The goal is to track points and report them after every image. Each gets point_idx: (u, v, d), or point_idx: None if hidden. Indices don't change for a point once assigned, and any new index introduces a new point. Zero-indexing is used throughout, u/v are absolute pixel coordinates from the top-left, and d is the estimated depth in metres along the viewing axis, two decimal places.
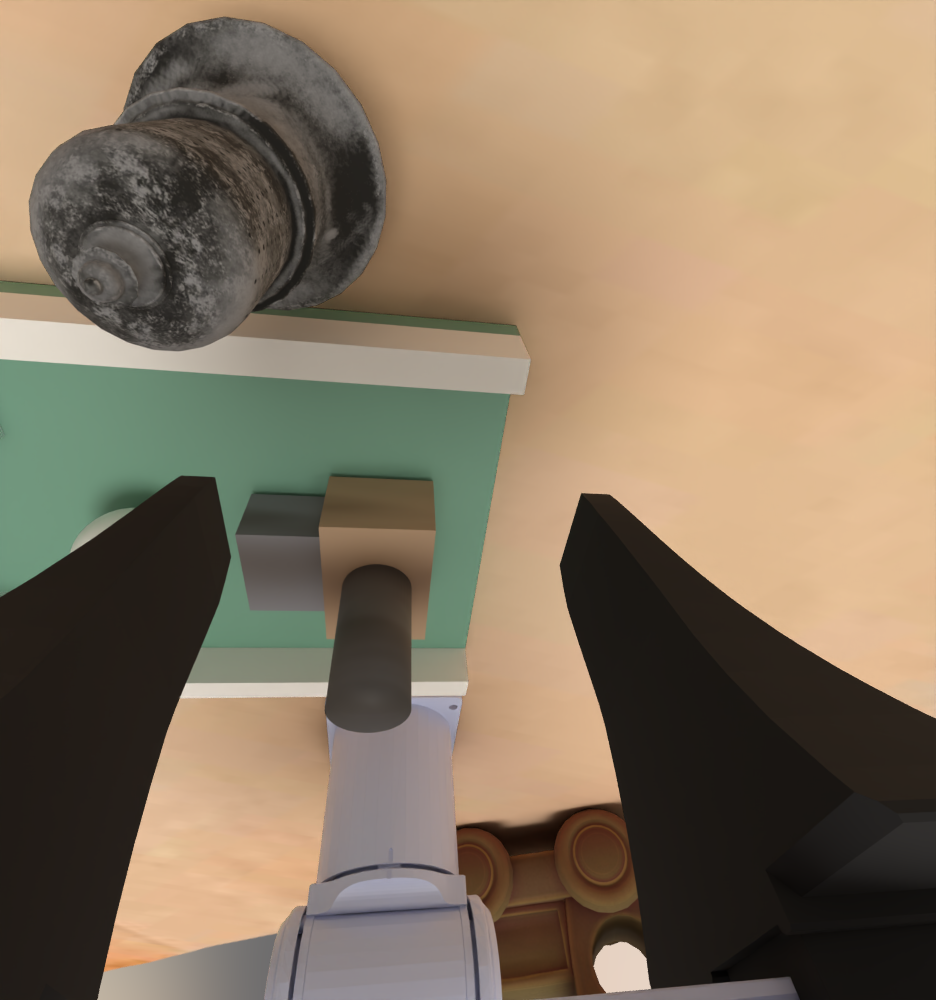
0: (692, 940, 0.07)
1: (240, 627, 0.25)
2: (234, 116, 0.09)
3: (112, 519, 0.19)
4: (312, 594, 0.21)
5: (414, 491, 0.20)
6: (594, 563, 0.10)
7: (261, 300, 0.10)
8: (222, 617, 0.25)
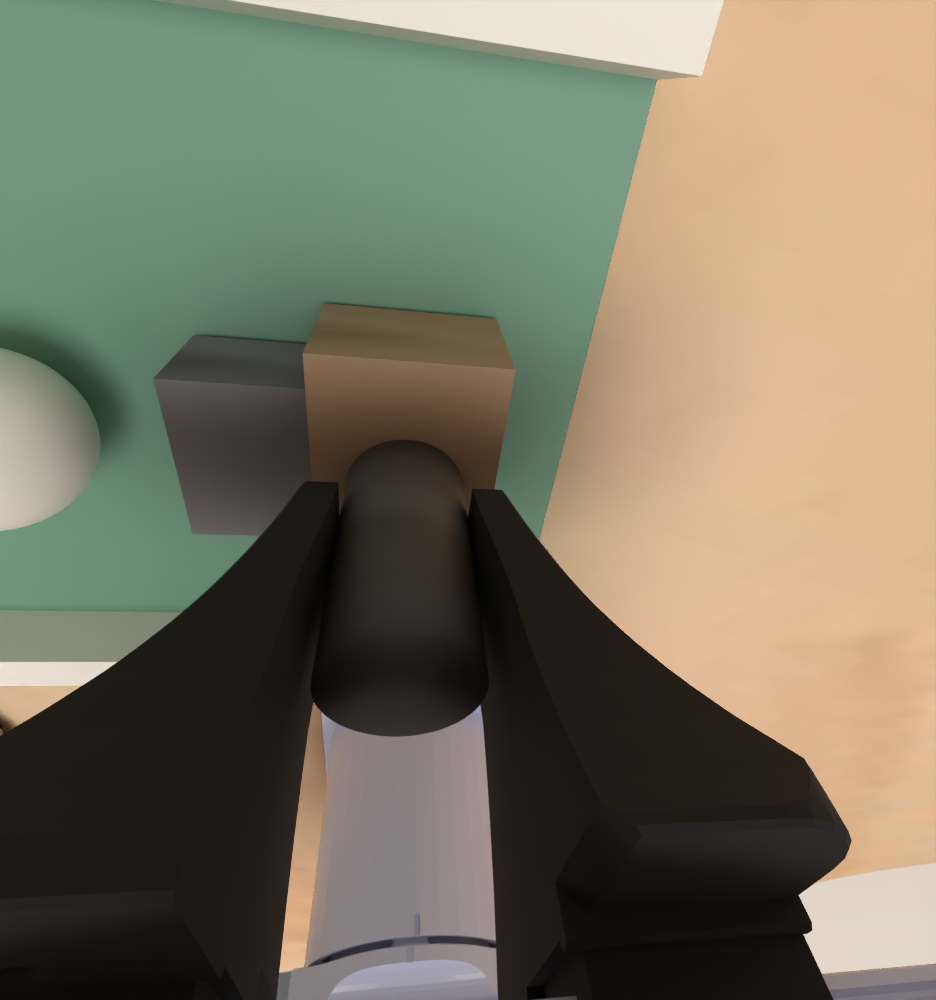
0: (519, 954, 0.06)
1: (192, 580, 0.17)
2: None
3: None
4: None
5: (468, 326, 0.12)
6: (477, 560, 0.10)
7: None
8: (164, 563, 0.17)
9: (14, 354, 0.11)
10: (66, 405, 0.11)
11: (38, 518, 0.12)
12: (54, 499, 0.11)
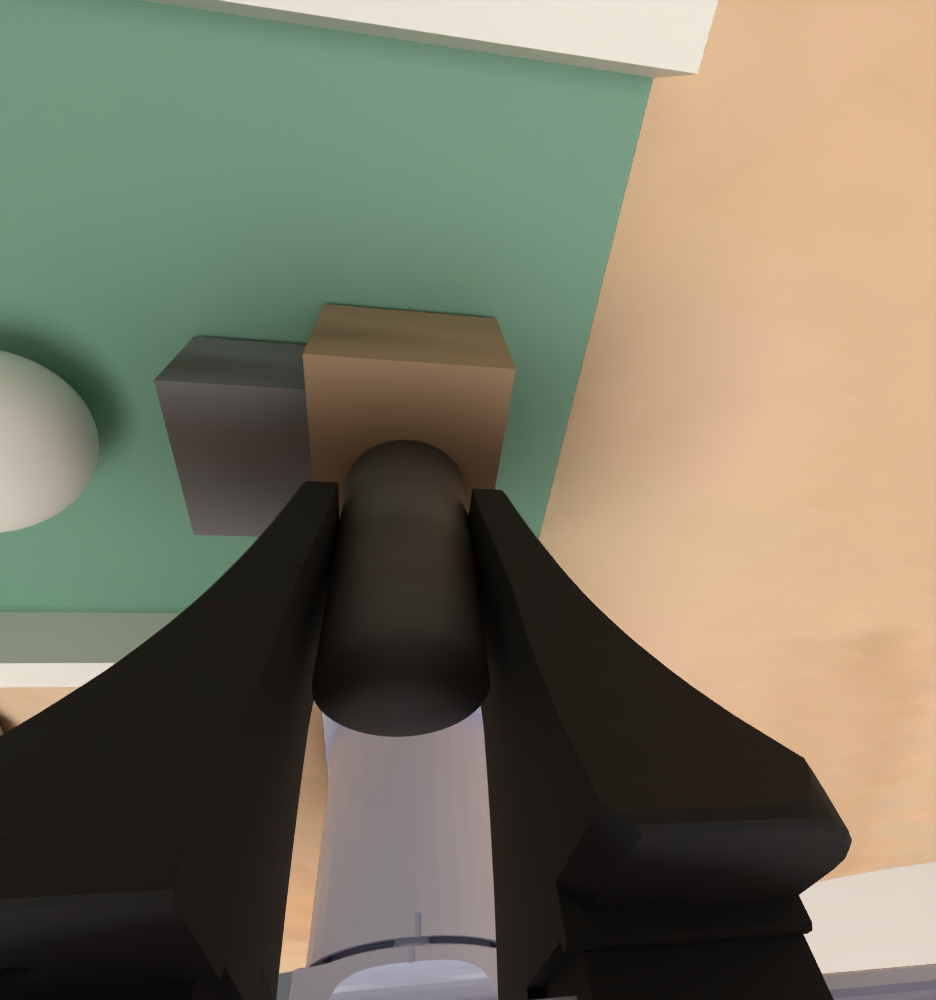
0: (519, 954, 0.06)
1: (192, 580, 0.17)
2: None
3: None
4: None
5: (467, 326, 0.12)
6: (477, 560, 0.10)
7: None
8: (164, 564, 0.17)
9: (12, 356, 0.11)
10: (64, 407, 0.11)
11: (37, 520, 0.12)
12: (53, 501, 0.11)
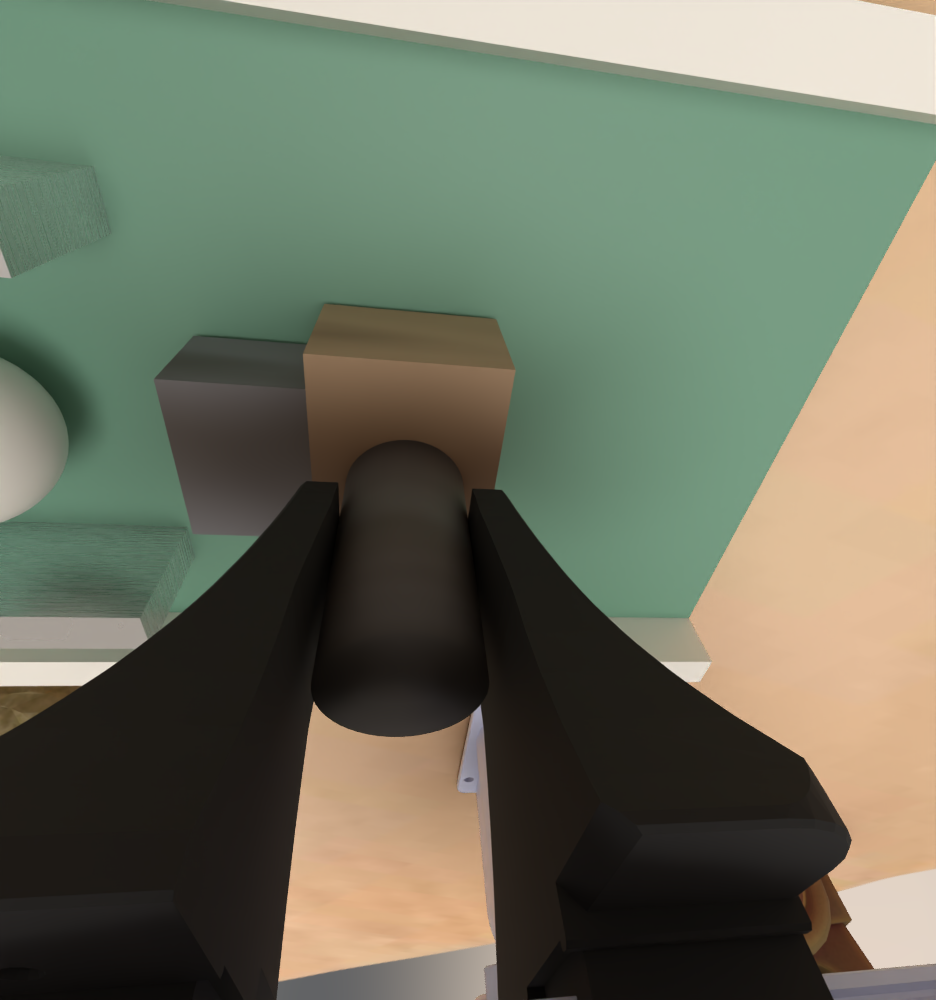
0: (519, 954, 0.06)
1: None
2: None
3: None
4: None
5: (468, 327, 0.12)
6: (477, 560, 0.10)
7: None
8: None
9: None
10: None
11: None
12: None
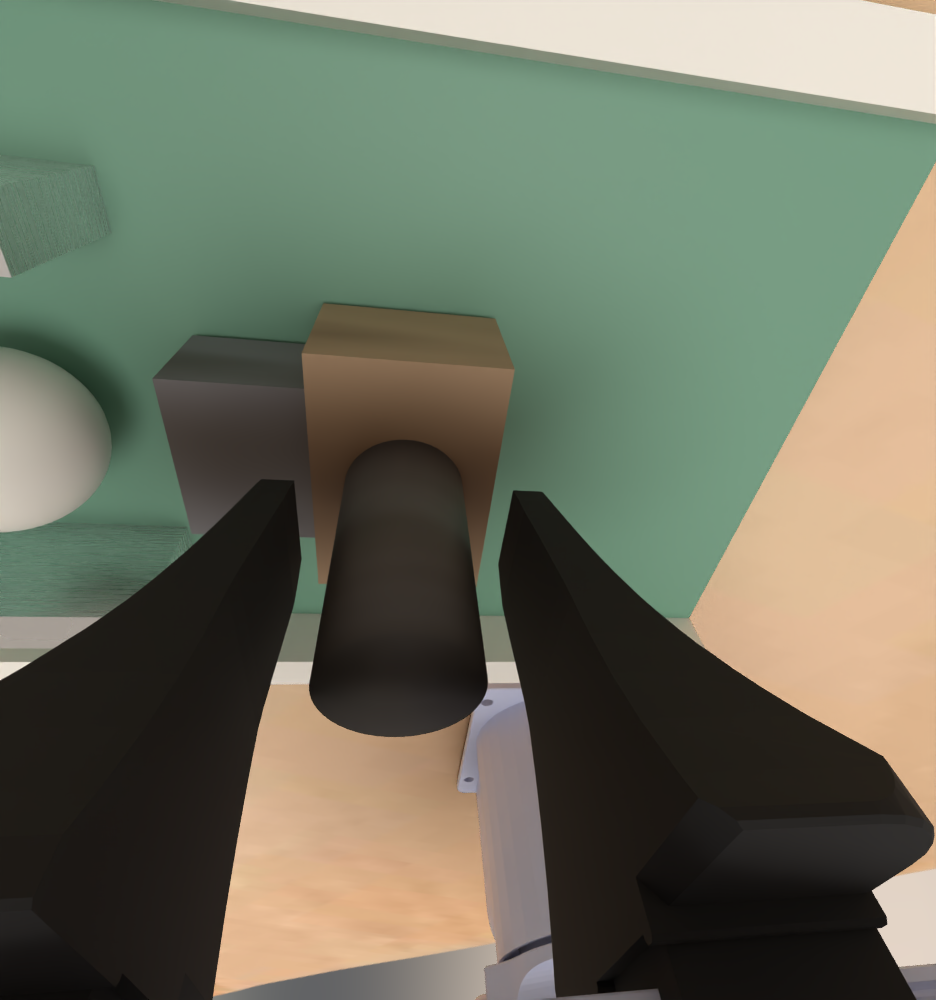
0: (583, 949, 0.06)
1: None
2: None
3: None
4: None
5: (466, 326, 0.12)
6: (521, 561, 0.10)
7: None
8: None
9: None
10: None
11: None
12: None
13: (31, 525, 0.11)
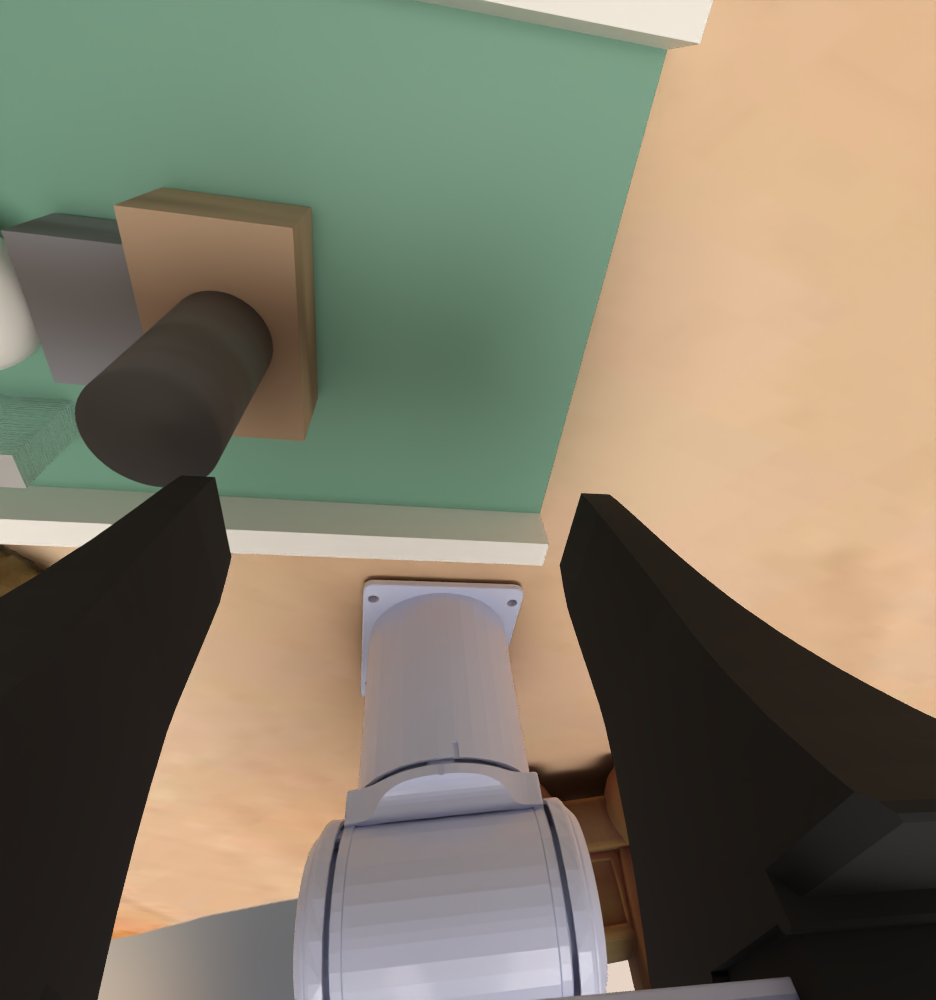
0: (692, 940, 0.07)
1: (272, 467, 0.21)
2: None
3: None
4: None
5: (278, 208, 0.14)
6: (594, 563, 0.10)
7: None
8: (250, 450, 0.20)
9: None
10: None
11: None
12: None
13: (28, 353, 0.15)
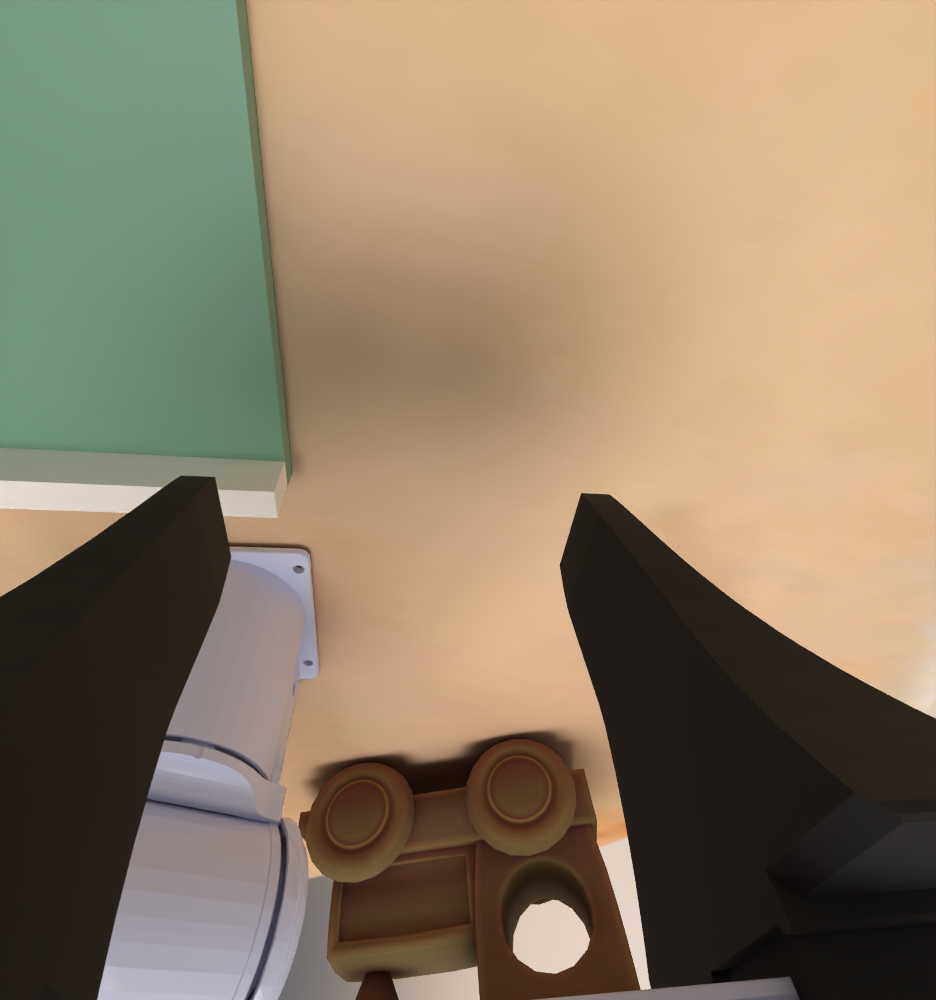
0: (692, 941, 0.07)
1: None
2: None
3: None
4: None
5: None
6: (594, 563, 0.10)
7: None
8: None
9: None
10: None
11: None
12: None
13: None
